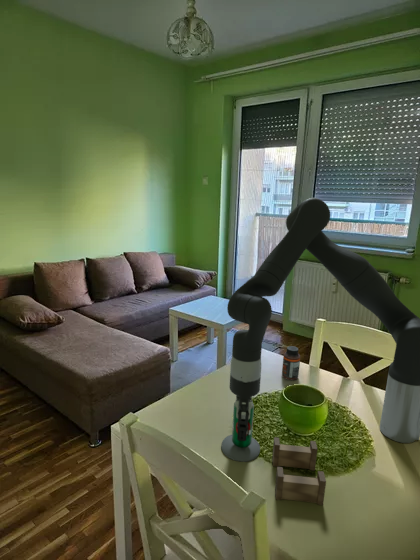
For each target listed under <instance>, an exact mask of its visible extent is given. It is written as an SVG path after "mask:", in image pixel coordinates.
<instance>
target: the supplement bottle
mask: <svg viewBox="0 0 420 560" xmlns="http://www.w3.org/2000/svg"><path fill="white" fill-rule="evenodd" d="M282 358H283V359H282V369H281V377H283V379H285V380H289V381H295V380H298V379H299V374H300V373H299V372H300V363H301V355H300V353H299V348H298V347H296V346H293V345H290V346H287V347H286V351H285V352H284V353H283V357H282Z"/></svg>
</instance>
